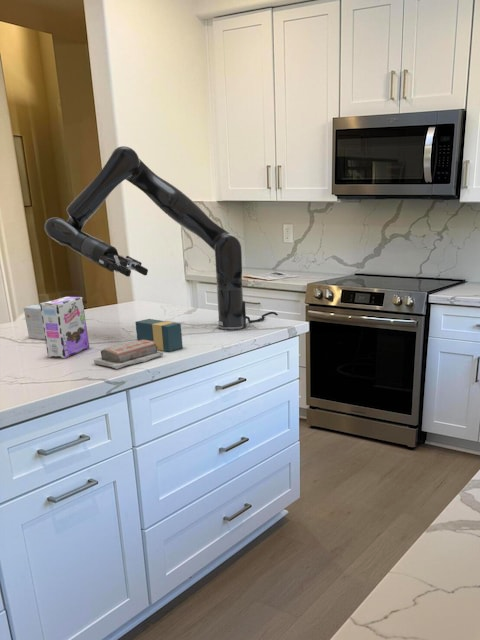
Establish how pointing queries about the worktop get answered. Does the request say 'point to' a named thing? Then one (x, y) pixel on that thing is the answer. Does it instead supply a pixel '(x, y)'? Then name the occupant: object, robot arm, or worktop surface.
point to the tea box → (160, 333)
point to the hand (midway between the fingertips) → (138, 273)
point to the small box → (34, 321)
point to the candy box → (64, 326)
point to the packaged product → (128, 354)
